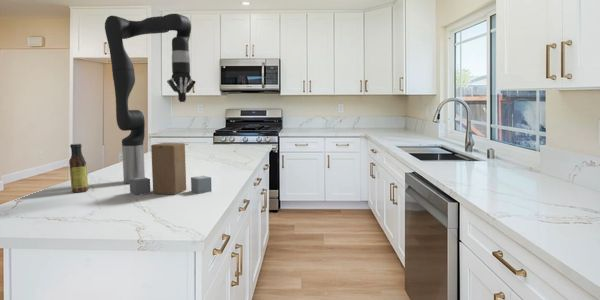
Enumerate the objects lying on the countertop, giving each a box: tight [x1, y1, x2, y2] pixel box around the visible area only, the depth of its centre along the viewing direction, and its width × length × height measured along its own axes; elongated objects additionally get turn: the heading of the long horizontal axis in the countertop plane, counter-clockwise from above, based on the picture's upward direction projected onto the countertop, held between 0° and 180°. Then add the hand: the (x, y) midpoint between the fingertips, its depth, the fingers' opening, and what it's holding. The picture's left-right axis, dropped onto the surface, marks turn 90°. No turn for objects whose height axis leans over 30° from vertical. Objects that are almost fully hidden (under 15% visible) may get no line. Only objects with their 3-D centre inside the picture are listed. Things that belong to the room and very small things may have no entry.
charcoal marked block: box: [129, 176, 151, 196], centre depth 174 cm, size 6×6×6 cm
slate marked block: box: [190, 175, 212, 194], centre depth 177 cm, size 6×6×6 cm
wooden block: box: [150, 142, 187, 196], centre depth 175 cm, size 10×10×20 cm
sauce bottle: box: [68, 143, 89, 193], centre depth 177 cm, size 6×6×20 cm
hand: (182, 101), depth 188 cm, fingers closed
